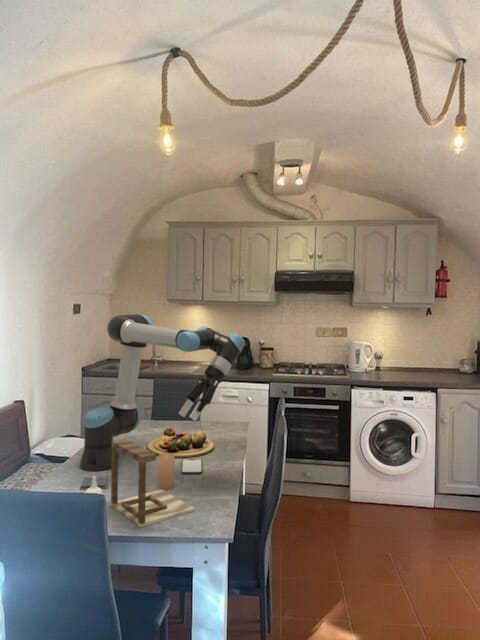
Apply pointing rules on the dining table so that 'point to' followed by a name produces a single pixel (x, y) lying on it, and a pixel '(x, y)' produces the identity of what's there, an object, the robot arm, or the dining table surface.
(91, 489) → the garlic bulb
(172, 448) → the wooden plate with food
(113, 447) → the wooden c-frame stand
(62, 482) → the dining table surface
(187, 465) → the phone case
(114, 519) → the dining table surface
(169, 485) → the tan cylinder
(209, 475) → the dining table surface
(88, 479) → the woven mat
